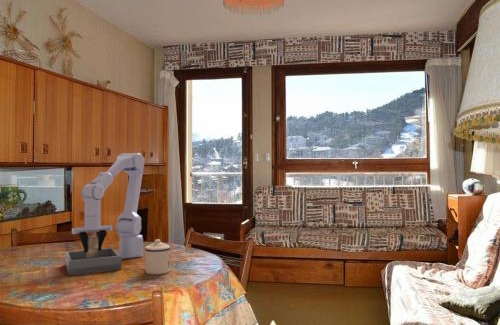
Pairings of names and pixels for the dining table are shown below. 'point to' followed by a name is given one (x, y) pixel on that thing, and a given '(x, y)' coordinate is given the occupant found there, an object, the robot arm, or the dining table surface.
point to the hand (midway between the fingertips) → (92, 251)
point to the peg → (92, 247)
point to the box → (92, 262)
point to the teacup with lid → (157, 258)
